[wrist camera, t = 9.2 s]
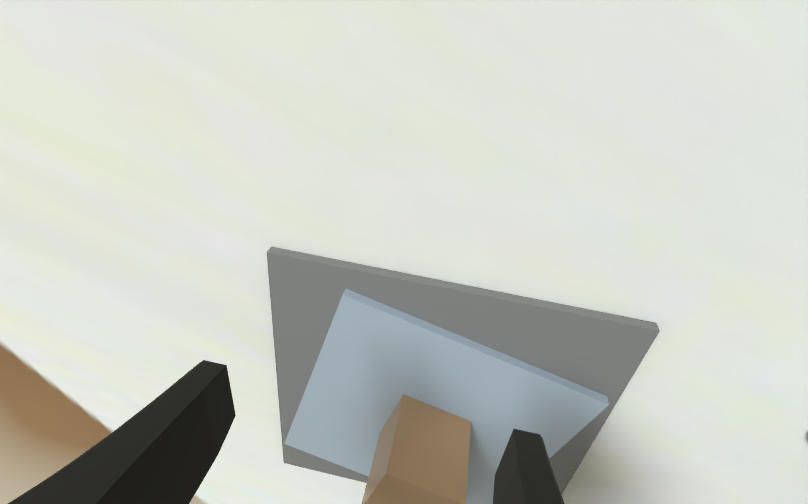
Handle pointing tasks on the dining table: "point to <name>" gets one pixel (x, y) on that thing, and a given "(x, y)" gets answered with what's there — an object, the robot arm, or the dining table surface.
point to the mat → (458, 313)
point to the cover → (426, 406)
